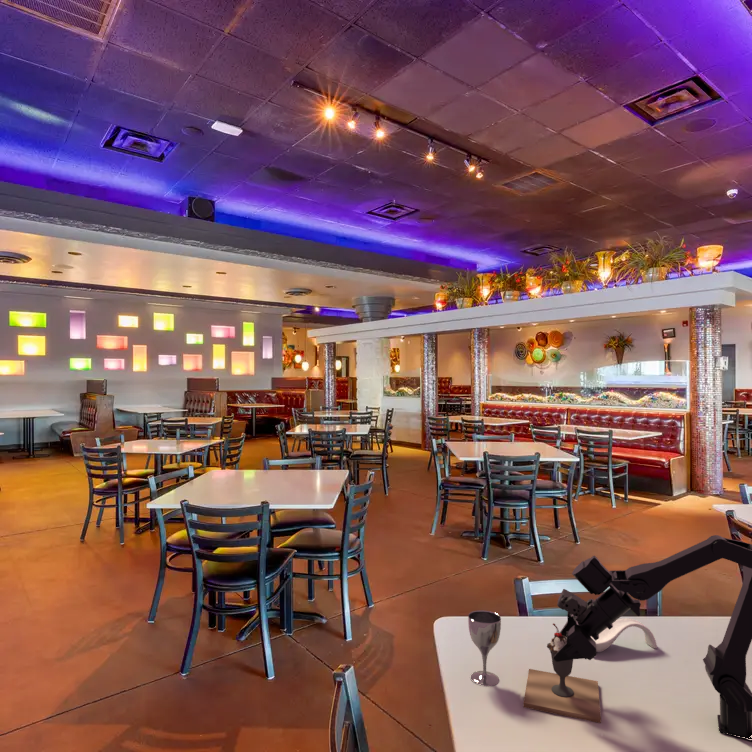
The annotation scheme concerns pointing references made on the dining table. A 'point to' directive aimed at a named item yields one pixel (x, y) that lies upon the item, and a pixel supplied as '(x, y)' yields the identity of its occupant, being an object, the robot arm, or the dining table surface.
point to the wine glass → (484, 641)
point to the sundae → (560, 665)
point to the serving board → (576, 706)
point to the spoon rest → (618, 627)
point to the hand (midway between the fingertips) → (555, 650)
